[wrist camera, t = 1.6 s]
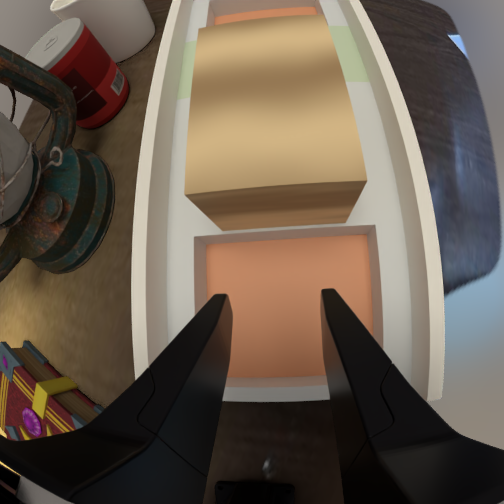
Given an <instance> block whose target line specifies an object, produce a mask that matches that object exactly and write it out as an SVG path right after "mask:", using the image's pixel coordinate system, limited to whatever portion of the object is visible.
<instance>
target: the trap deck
mask: <svg viewBox="0 0 504 504" xmlns="http://www.w3.org/2000/svg"><path fill="white" fill-rule="evenodd" d="M294 15H324V17H325V20H326V23H327V25H328V28H329V31H330V34H331V37H332V40H333V43H334V46H335V49H336V52H337V55H338V58H339V61H340V65H341V68H342V71H343V75H344V78H345V82H346V86H347V89H348V93H349V97H350V101H351V104H352V108H353V112H354V117H355V121H356V125H357V130H358V134H359V139H360V143H361V148H362V153H363V158H364V163H365V169H366V174H367V180H368V181H367V183H366V185H365V187H364V189H363V191H362V193H361V195H360V196H359V198H358V200H357V202H356V204H355V206H354V208H353V210H352V212H351V214H350V216H349V218H348V219H347V221H346V223H338V224H320V225H304V226H289V227H274V228H259V229H246V230H232V231H222V230H221V229H220V228H219V227H218V226H217V225H215V224H214V223H213V222H212V221H211V220H210V219H209V218H208V217H207V216H206V215H205V214H204V213H203V212H202V211H201V210H200V209H199V208H198V207H196V206H195V205H194V204H193V203H192V202H191V201H190V200H189V199H188V198H187V197H186V196H185V195H184V187H185V166H186V148H187V134H188V120H189V108H190V97H191V87H192V78H193V69H194V60H195V52H196V44H197V37H198V29H199V28H203V27H208V26H213V25H219V24H224V23H230V22H236V21H243V20H251V19H259V18H268V17H279V16H294ZM326 288H334V289H335V290H336V291H337V292H338V293H339V294H340V296H341V297H342V298H343V299H344V301H345V302H346V303H347V304H348V306H349V307H350V308H351V309H352V311H353V312H354V313H355V314H356V316H357V317H358V318H359V319H360V321H361V322H362V323H363V324H364V326H365V327H366V328H367V330H368V331H369V332H370V333H371V335H372V336H373V337H374V339H375V340H376V341H377V342H378V344H379V345H380V346H381V348H382V349H383V350H384V351H385V353H386V354H387V355H388V357H389V358H390V359H391V361H392V363H394V364H395V366H396V367H397V368H398V370H399V371H400V372H401V374H402V375H403V376H404V377H405V379H406V380H407V381H408V382H409V384H410V385H411V386H412V387H413V388H414V389H415V390H416V391H417V392H418V394H419V395H420V396H421V397H422V398H423V399H424V400H425V401H427V402H429V401H433V400H437V399H442V392H443V378H444V357H445V356H444V355H445V316H444V315H445V314H444V293H443V279H442V268H441V258H440V250H439V242H438V235H437V228H436V222H435V216H434V210H433V205H432V200H431V195H430V190H429V185H428V181H427V176H426V172H425V168H424V164H423V160H422V156H421V152H420V148H419V145H418V141H417V138H416V134H415V131H414V128H413V125H412V121H411V118H410V115H409V112H408V109H407V106H406V103H405V101H404V98H403V95H402V92H401V90H400V87H399V84H398V82H397V79H396V77H395V74H394V72H393V69H392V67H391V64H390V62H389V60H388V57H387V55H386V53H385V51H384V48H383V46H382V44H381V42H380V40H379V38H378V36H377V33H376V31H375V29H374V27H373V25H372V23H371V21H370V20H369V18H368V16H367V14H366V12H365V10H364V8H363V6H362V5H361V3H360V1H359V0H194V1H193V0H173V1H172V5H171V8H170V11H169V15H168V18H167V22H166V25H165V29H164V33H163V36H162V40H161V44H160V48H159V52H158V56H157V61H156V65H155V70H154V74H153V79H152V84H151V89H150V94H149V99H148V105H147V111H146V116H145V123H144V129H143V136H142V143H141V150H140V158H139V166H138V175H137V185H136V196H135V208H134V223H133V242H132V280H131V297H132V335H133V354H134V368H135V380H136V379H137V378H138V377H139V376H140V375H141V374H142V373H143V372H144V371H145V370H146V369H147V368H149V365H150V364H151V363H152V362H153V361H154V360H155V359H156V358H157V357H158V355H159V354H160V353H161V352H162V351H163V350H164V349H165V348H166V347H167V346H168V344H169V343H170V342H171V341H172V340H173V339H174V338H175V337H176V336H177V334H178V333H179V332H180V331H181V330H182V329H183V328H184V327H185V326H186V325H187V323H188V322H189V321H190V320H191V319H192V318H193V317H194V316H195V315H196V314H197V312H198V311H199V310H200V309H201V308H202V307H203V306H204V305H205V304H206V303H207V301H208V300H209V299H210V298H211V297H212V296H213V295H214V294H221V293H226V294H228V296H229V300H230V304H231V308H232V312H233V326H232V341H231V355H230V364H229V370H228V375H227V380H226V385H225V390H224V395H223V400H222V401H240V402H289V401H313V400H328V399H330V395H329V389H328V383H327V377H326V372H325V366H324V360H323V349H322V331H321V315H320V300H321V290H322V289H326Z"/></svg>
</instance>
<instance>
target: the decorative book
mask: <svg viewBox="0 0 504 504" xmlns="http://www.w3.org/2000/svg"><path fill="white" fill-rule="evenodd" d="M47 362H48V360H47V359H46V358H45V357H44V356H43V355H42V354H41V353H40V352H39V351H38V350H37V349H36V348H35V347H34V346H33V345H32V344H31V343H30V342H29V341H24V342H23V347H22V348H11V347H10V346H9V345H8V344H7V343H6V342H0V427H1V429H2V430H3V431H4V432H5V433H6V435H7V439H9V440H14V441H22V440H29V439H35V438H40V437H45V436H50V435H55V434H60V433H65V432H69V431H73V430H76V429H79V428H81V427H83V426H85V425H86V424H88V423H89V422H90V421H92V420H93V419H94V418H95V417H96V416H97V415H99V414H100V413H101V412H102V411H103V410H104V408H103V407H101V406H100V405H99V404H98V405H95V404H94V403H93V402H92V401H90V400H89V399H88V398H87V397H85V396H84V395H83V394H82V393H81V392H79V391H78V390H77V387H78V385H77V384H75V383H74V382H73V381H72V380H71V379H70V378H68V377H67V376H66V377H62V376H61V375H60V374H59V373H58V372H57V371H56V370H55V369H54V368H53V367H52V366H50V365H49V364H48V363H47Z"/></svg>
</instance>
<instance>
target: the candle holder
mask: <svg viewBox="0 0 504 504" xmlns="http://www.w3.org/2000/svg"><path fill="white" fill-rule="evenodd" d="M50 10H51V11H52V12H53V13H54V14H55V15H56V16H57V17H58V18H59V19H60V20H61V21H62V22H63V21H65V20H68V19H70V18H79V19H80V20H81V21H82V22H83V23H84V24H85V25H86V26H87V28H88V29H89V30H90V31H91V32H92V34H93V35H94V36H95V38H96V39H97V40H98V42H99V43H100V44H101V45H102V47H103V48H104V49H105V51H106V52H107V53H108V54H109V56H110V57H111V58H112V60H113V61H114V62H115V63H117V62H121V61H123V60H126V59H128V58H130V57H131V56H133V55H135V54H136V53H138V52H139V51H140V50H142V49H143V48H144V47H145V46H146V45H147V44H148V43H149V42H150V41H151V39H152V38H153V36H154V34H155V26H154V23H153V21H152V18H151V16H150V14H149V12H148V10H147V7H146V5H145V3H144V1H143V0H54V1H53V2H52V4H51V6H50Z"/></svg>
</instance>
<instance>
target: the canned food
mask: <svg viewBox="0 0 504 504" xmlns="http://www.w3.org/2000/svg"><path fill="white" fill-rule="evenodd" d="M25 59H27V60H29V61H31V62H32V63H34V64H36V65H38V66H40V67H41V68H43V69H45V70H47V71H48V72H50V73H52V74H53V75H55V76H57V77H58V78H59V79H60V80H62V81H63V82H64V83H65V84H66V85H67V86H69V87H70V88H71V90H72V93H73V95H74V98H75V100H76V107H77V118H76V124H77V125H78V126H81V127H84V128H88V129H89V128H96V127H99V126H101V125H103V124H105V123H106V122H108V121H109V120H110V119H112V118H113V117H114V116H115V115H116V114H117V113H118V112H119V110H120V109H121V108H122V106H123V105H124V103H125V101H126V99H127V96H128V93H129V85H128V81H127V79H126V77H125V75H124V74H123V73H122V71H121V70H120V69H119V67H118V66H117V65H116V63H115V62H114V61H113V60H112V58H111V57H110V56H109V54H108V53H107V52H106V51H105V49H104V48H103V47H102V45H101V44H100V43H99V42H98V40H97V39H96V38H95V36H94V35H93V34H92V32H91V31H90V30H89V29H88V28H87V26H86V25H85V24H84V23H83V22H82V21H81V20H80V19H79V18H70V19H68V20H65V21H63V22H61V23H59V24H58V25H56V26H55V27H53V28H52V29H51V30H49V31H48V32H47V33H46V34H45V35H44V36H43V37H42V38H41V39H40V40H39V41H38V42H37V43H36V44H35V45H34V46H33V48H32V49H31V50H30V51H29V53H28V54H27V56H26V58H25Z"/></svg>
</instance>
